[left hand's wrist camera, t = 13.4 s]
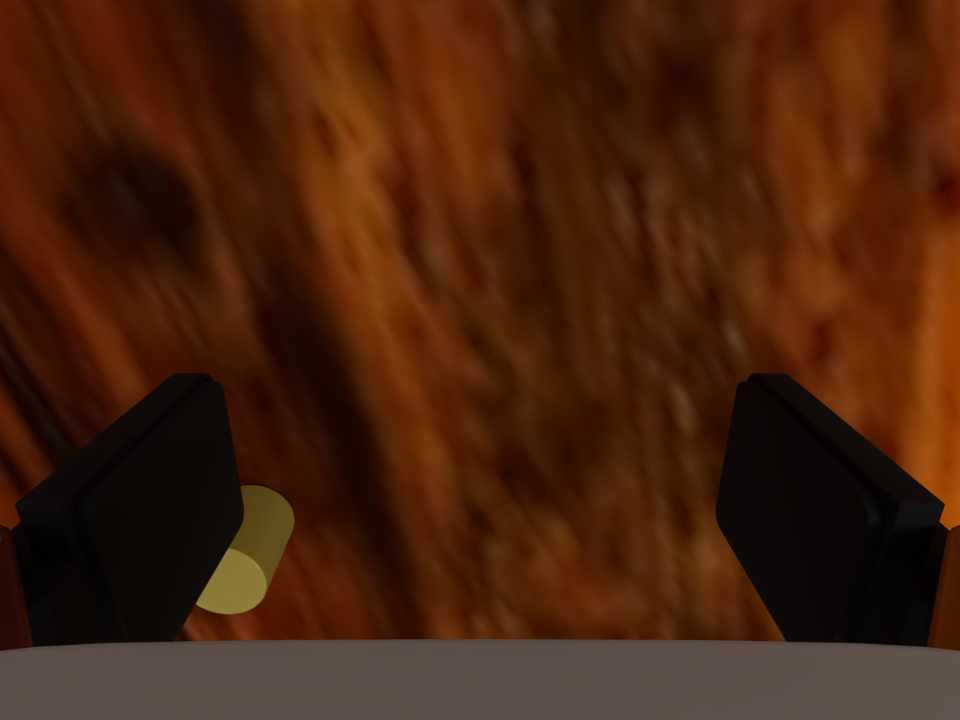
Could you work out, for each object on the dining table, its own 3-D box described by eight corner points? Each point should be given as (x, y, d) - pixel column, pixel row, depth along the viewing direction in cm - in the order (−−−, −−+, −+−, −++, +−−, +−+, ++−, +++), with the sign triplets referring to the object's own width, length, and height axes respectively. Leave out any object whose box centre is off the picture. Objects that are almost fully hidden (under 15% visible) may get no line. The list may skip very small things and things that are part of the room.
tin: (296, 489, 29) (267, 552, 25) (293, 550, 31) (265, 619, 27) (217, 479, 29) (175, 542, 25) (218, 541, 30) (178, 609, 26)
